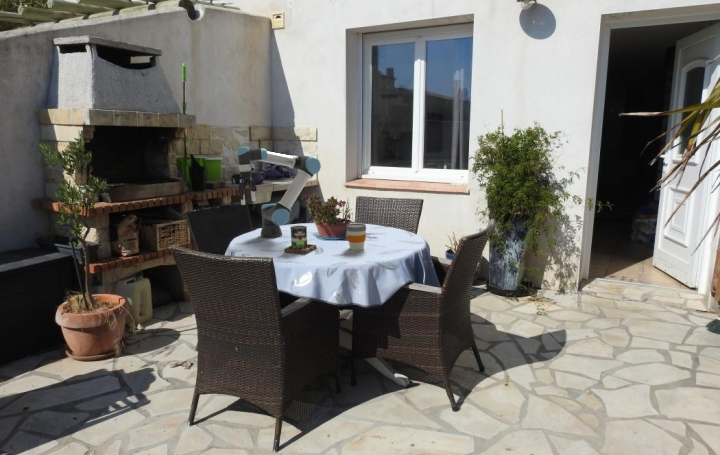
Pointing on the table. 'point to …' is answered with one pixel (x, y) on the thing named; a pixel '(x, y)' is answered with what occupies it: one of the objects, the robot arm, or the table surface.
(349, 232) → the reusable coffee cup
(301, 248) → the coffee can
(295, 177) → the robot arm
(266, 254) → the table surface
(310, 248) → the wooden tray
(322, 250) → the table surface
